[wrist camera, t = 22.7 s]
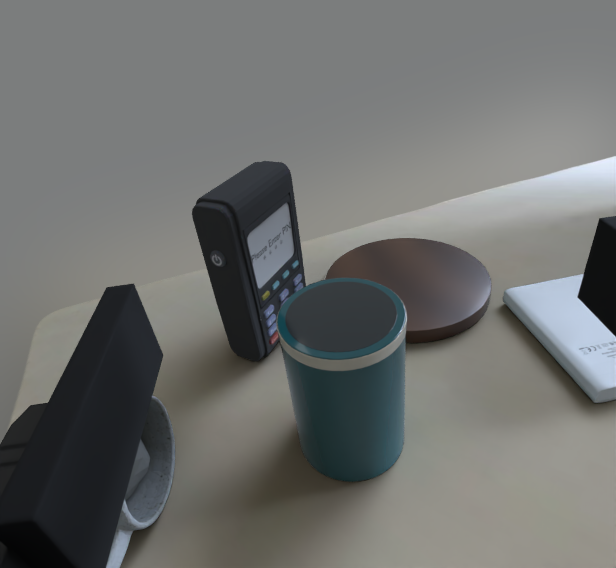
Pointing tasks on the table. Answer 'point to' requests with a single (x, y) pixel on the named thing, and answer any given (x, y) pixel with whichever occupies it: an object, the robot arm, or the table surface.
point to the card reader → (251, 253)
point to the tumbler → (346, 375)
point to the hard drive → (569, 333)
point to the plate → (423, 283)
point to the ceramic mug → (146, 480)
